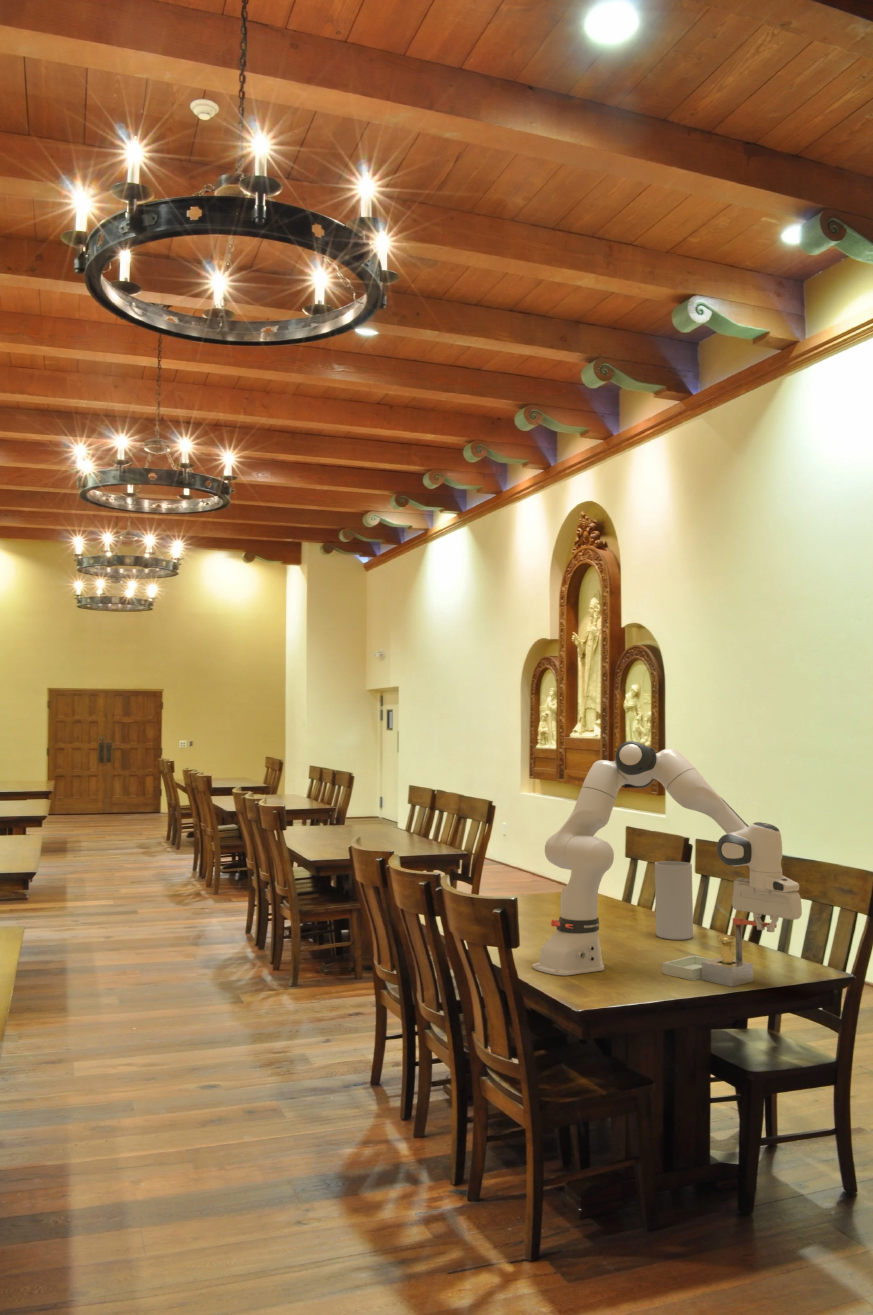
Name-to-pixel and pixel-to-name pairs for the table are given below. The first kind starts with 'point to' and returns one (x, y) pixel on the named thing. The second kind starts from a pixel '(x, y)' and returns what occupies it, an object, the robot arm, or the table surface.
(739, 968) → the socket block
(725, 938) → the pin
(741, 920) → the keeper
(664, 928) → the cylinder vase
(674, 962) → the tray
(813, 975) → the table surface
